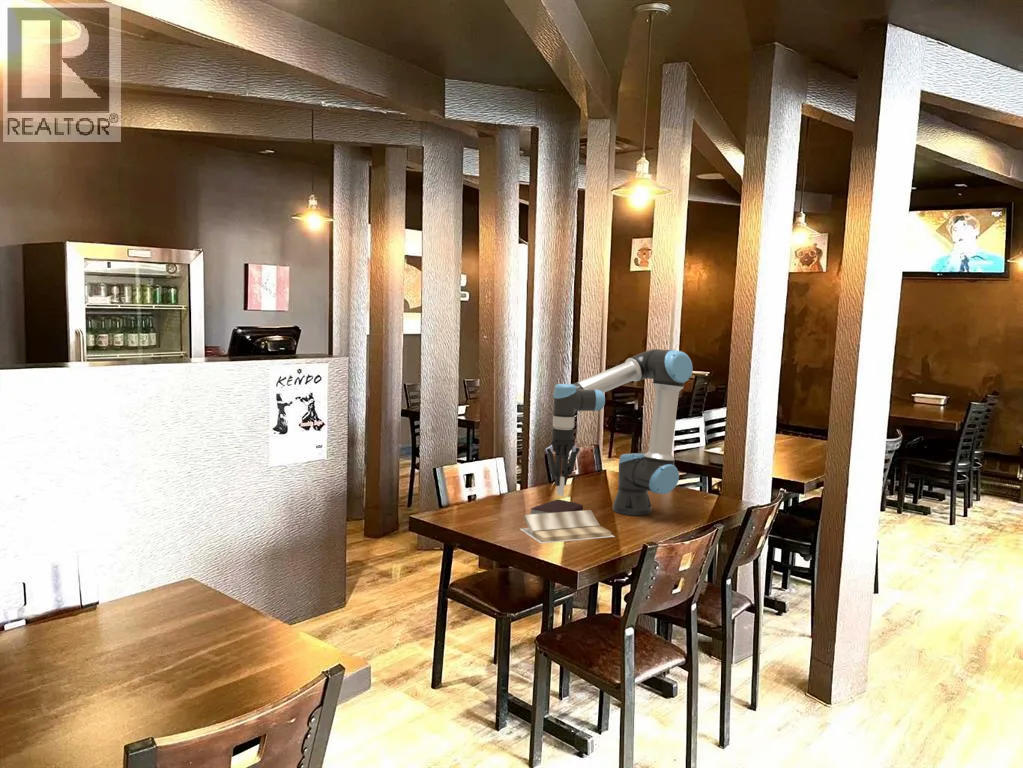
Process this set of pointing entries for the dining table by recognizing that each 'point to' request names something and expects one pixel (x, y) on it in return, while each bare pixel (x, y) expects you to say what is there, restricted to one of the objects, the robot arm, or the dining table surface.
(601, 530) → the laid plank
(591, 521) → the loose plank
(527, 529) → the floor board
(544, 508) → the book
